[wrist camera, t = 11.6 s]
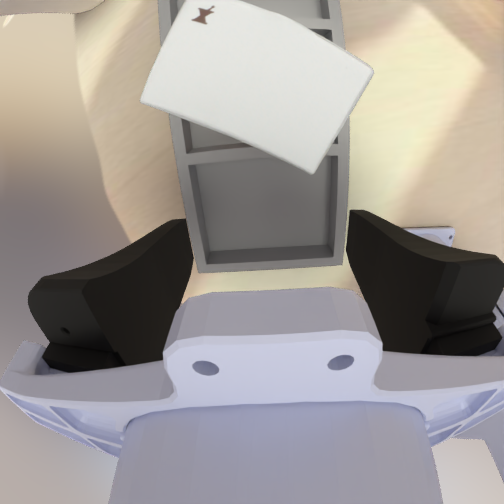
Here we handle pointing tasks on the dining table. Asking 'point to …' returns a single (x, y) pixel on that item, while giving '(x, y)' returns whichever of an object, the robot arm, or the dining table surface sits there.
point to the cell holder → (262, 180)
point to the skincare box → (256, 79)
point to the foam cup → (46, 6)
